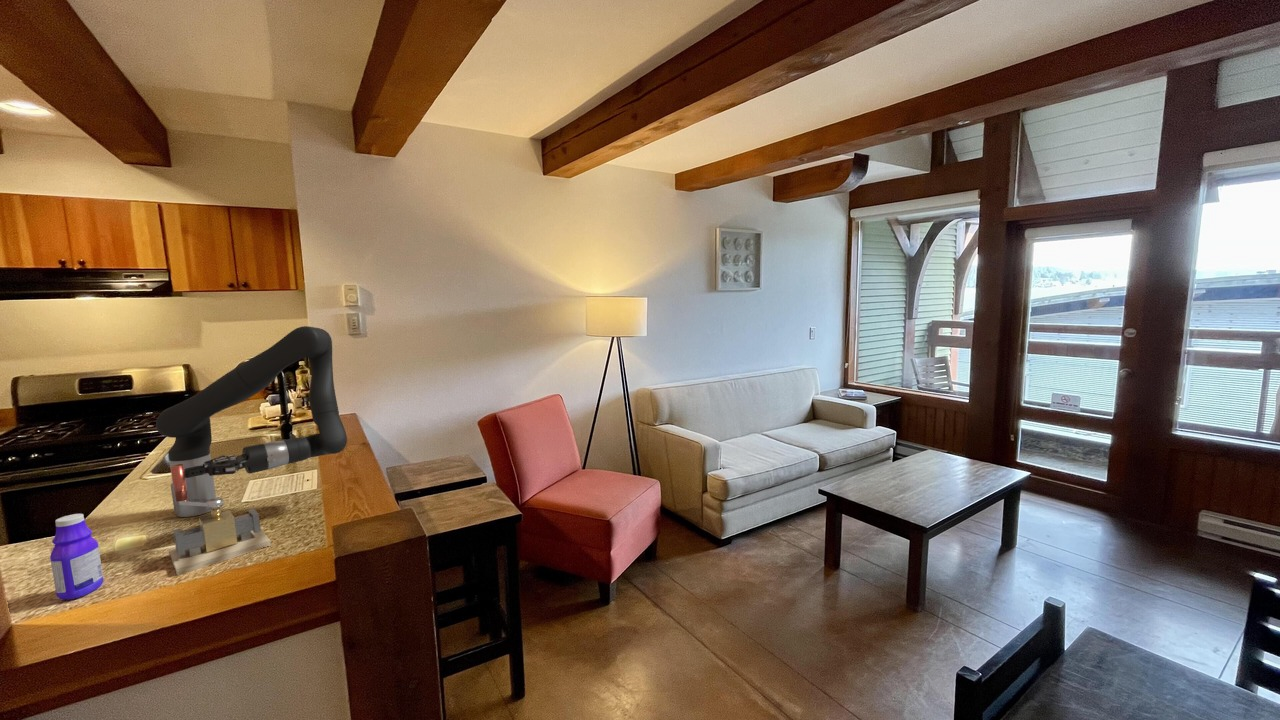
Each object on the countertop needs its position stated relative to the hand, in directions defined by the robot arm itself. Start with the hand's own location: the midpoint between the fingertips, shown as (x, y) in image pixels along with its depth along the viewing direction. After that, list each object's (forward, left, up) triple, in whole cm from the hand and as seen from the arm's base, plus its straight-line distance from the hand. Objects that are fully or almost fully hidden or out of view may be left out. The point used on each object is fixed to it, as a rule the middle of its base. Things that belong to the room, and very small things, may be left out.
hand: (184, 473), depth 128 cm
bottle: (-3, -21, -20) cm, 29 cm away
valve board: (+10, -1, -19) cm, 22 cm away
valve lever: (+5, -1, -8) cm, 9 cm away
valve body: (+10, -1, -18) cm, 21 cm away
